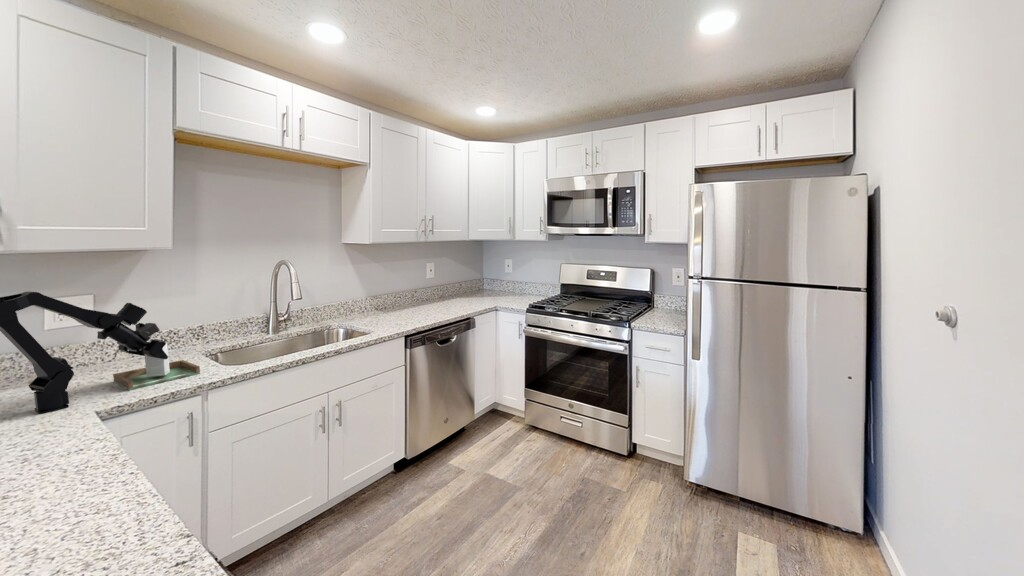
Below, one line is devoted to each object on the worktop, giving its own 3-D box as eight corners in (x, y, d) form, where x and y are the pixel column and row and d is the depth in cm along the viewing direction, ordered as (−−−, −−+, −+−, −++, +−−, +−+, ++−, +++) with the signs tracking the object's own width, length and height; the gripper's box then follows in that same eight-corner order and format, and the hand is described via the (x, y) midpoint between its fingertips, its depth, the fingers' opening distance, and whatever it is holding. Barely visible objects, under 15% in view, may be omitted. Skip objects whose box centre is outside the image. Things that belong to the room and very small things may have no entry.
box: (129, 390, 149) (128, 382, 149) (113, 381, 158) (113, 374, 157) (200, 373, 168) (199, 366, 167) (183, 366, 176) (182, 359, 176)
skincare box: (170, 372, 165) (167, 342, 164) (165, 375, 161) (162, 345, 159) (151, 373, 163) (148, 343, 162) (145, 377, 159) (143, 346, 158)
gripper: (157, 319, 153) (191, 341, 164) (125, 315, 159) (160, 337, 170) (134, 345, 146) (171, 366, 158) (101, 340, 152) (139, 361, 164)
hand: (160, 357), depth 162 cm, fingers closed on skincare box, 7 cm apart
